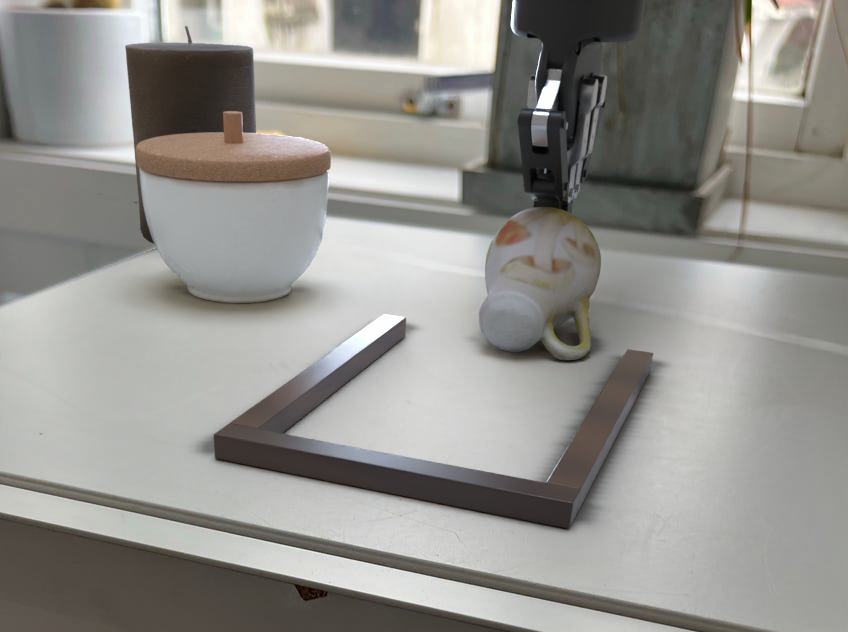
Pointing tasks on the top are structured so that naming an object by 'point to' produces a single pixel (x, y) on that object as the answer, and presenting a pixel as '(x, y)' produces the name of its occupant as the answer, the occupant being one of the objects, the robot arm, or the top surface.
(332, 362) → the frame
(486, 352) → the top surface
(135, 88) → the pillar candle
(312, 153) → the lidded bowl
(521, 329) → the mug
